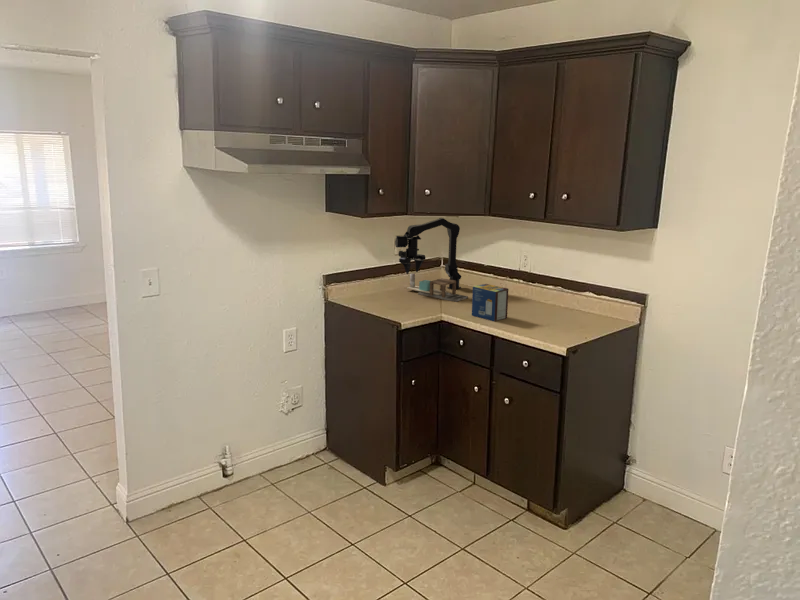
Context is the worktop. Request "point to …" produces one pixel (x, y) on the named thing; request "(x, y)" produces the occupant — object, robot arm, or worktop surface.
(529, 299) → the worktop surface
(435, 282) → the tunnel
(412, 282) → the sled
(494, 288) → the protein box
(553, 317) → the worktop surface
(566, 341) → the worktop surface
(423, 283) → the teal block
